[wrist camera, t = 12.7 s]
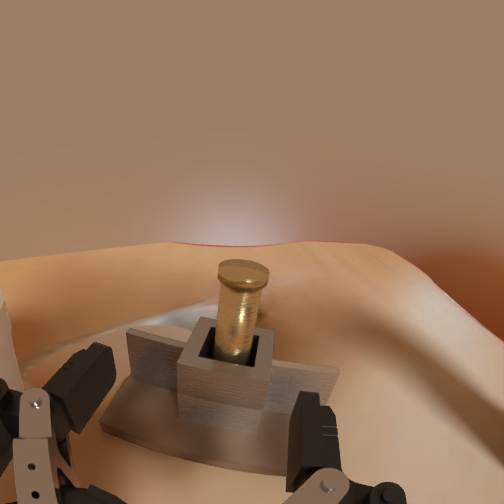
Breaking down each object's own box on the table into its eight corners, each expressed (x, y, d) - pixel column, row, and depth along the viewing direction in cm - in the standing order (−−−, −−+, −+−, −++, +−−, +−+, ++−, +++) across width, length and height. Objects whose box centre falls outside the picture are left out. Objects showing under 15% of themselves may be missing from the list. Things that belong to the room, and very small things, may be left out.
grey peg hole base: (316, 379, 32) (320, 370, 31) (323, 478, 18) (329, 470, 18) (154, 348, 33) (154, 339, 33) (102, 430, 20) (99, 421, 19)
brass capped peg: (245, 392, 27) (270, 264, 22) (240, 418, 23) (267, 283, 19) (210, 384, 27) (224, 256, 22) (202, 410, 24) (213, 273, 19)
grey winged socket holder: (318, 390, 28) (337, 338, 26) (321, 440, 21) (348, 389, 19) (146, 357, 29) (143, 303, 27) (119, 398, 23) (108, 342, 20)
